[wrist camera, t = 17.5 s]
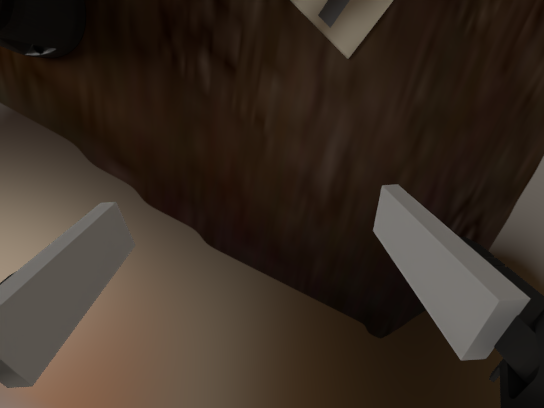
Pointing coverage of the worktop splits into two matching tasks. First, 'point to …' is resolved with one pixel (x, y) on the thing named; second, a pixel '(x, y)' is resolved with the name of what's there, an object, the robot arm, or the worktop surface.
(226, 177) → the worktop surface
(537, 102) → the worktop surface
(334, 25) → the board
